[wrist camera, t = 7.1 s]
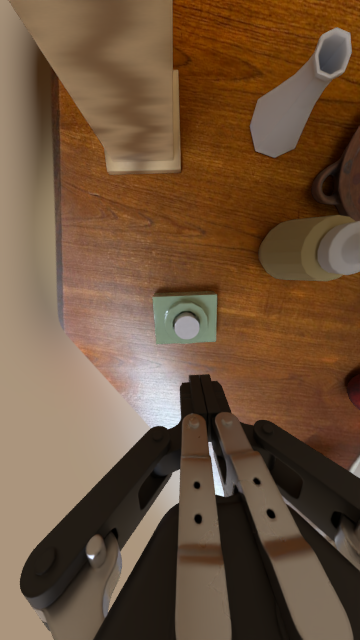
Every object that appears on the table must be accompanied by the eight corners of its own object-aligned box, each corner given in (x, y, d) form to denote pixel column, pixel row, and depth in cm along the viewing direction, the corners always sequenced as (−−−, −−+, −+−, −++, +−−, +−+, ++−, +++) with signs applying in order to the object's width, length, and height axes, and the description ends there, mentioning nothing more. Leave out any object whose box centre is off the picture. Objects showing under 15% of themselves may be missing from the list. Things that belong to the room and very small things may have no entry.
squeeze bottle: (240, 253, 31) (321, 252, 14) (279, 211, 29) (424, 152, 12) (272, 286, 33) (377, 321, 16) (310, 249, 31) (474, 242, 14)
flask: (298, 157, 27) (365, 105, 18) (247, 160, 27) (287, 110, 18) (306, 88, 25) (386, -12, 16) (250, 92, 25) (297, -7, 16)
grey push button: (174, 334, 30) (175, 340, 28) (173, 312, 29) (173, 316, 27) (197, 333, 30) (199, 339, 29) (197, 311, 29) (199, 315, 27)
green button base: (157, 336, 35) (155, 349, 31) (154, 293, 33) (151, 299, 28) (212, 334, 36) (218, 346, 31) (213, 290, 33) (219, 296, 28)
